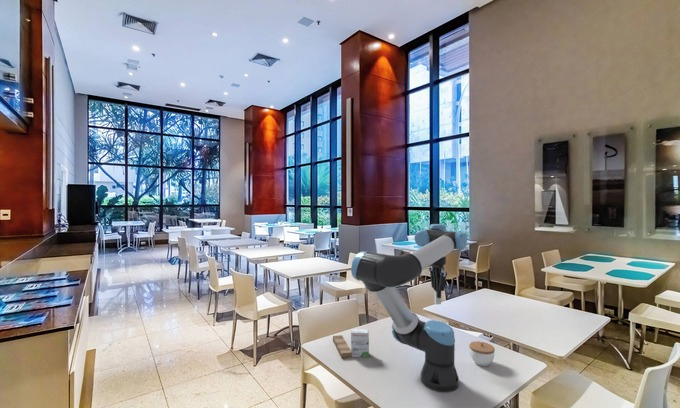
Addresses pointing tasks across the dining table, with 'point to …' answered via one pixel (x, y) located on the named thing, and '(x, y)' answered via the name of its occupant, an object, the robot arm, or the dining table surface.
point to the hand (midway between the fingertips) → (437, 303)
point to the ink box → (360, 343)
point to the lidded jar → (481, 353)
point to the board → (342, 347)
